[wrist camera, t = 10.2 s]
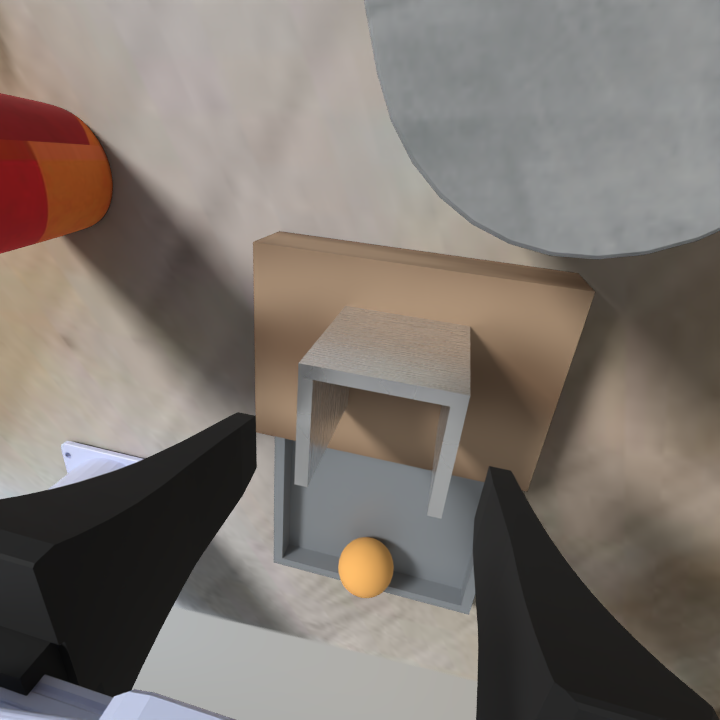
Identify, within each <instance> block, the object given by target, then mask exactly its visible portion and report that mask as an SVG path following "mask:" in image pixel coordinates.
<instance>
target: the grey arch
mask: <svg viewBox="0 0 720 720" xmlns="http://www.w3.org/2000/svg"><path fill="white" fill-rule="evenodd" d="M349 387H352V388H357V389H363V390H368V391H373V392H378V393H383V394H388V395H393V396H399V397H404V398H409V399H414V400H419V401H424V402H429V403H434V404H440V405H442V406H441V411H440V416H439V420H438V427H437V435H436V444H435V452H434V460H433V469H432V477H431V486H430V494H429V503H428V511H427V516H431V517H436V518H440V519H441V518H442V514H443V509H444V505H445V501H446V497H447V492H448V488H449V484H450V480H451V475H452V471H453V467H454V463H455V459H456V454H457V450H458V446H459V442H460V437H461V433H462V429H463V425H464V420H465V416H466V412H467V408H468V403H469V399H470V326H465V325H459V324H453V323H447V322H441V321H435V320H429V319H423V318H417V317H411V316H404V315H398V314H392V313H386V312H380V311H374V310H368V309H362V308H356V307H350V306H345V307H344V308H343V310H342V311H341V312H340V313H339V315H338V316H337V317H336V318H335V319H334V321H333V322H332V323H331V324H330V325H329V327H328V328H327V329H326V330H325V332H324V333H323V334H322V335H321V336H320V338H319V339H318V340H317V341H316V343H315V344H314V345H313V346H312V347H311V349H310V350H309V351H308V352H307V353H306V355H305V356H304V357H303V358H302V360H301V361H300V362H299V364H298V393H297V422H296V451H295V480H294V484H296V485H300V486H304V487H308V485H309V483H310V481H311V479H312V477H313V475H314V472H315V470H316V468H317V466H318V464H319V462H320V460H321V458H322V456H323V454H324V452H325V450H326V448H327V446H328V444H329V442H330V440H331V438H332V436H333V434H334V432H335V430H336V427H337V425H338V423H339V421H340V419H341V417H342V415H343V413H344V411H345V409H346V407H347V405H348V395H349Z"/></svg>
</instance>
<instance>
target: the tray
mask: <svg viewBox="0 0 720 720" xmlns="http://www.w3.org/2000/svg"><path fill="white" fill-rule="evenodd" d="M295 451H296V441H294V440H289V439H285V438H280V437H276V436H275V473H274V563H278V564H282V565H286V566H289V567H293V568H297V569H300V570H304V571H308V572H312V573H315V574H319V575H323V576H327V577H330V578H334V579H338V580H341V579H340V576H339V570H338V565H339V559H340V556H341V553H342V551H343V550H344V548H345V547H346V546H347V545H348V544H349V543H350V542H351V541H353V540H355V539H357V538H361V537H371V538H374V539H377V540H379V541H380V542H382V543H383V544H384V545H385V546H386V547H387V548H388V550H389V552H390V554H391V556H392V559H393V565H394V569H393V576H392V579H391V582H390V584H389V585H388V587H387V588H386V589H385V590H384V591H383V592H386V593H390V594H394V595H398V596H401V597H405V598H409V599H412V600H416V601H420V602H424V603H427V604H431V605H435V606H439V607H442V608H446V609H450V610H453V611H457V612H461V613H465V614H468V615H469V612H470V609H471V606H472V603H473V600H474V596H475V580H474V565H473V533H474V518H475V514H476V511H477V507H478V504H479V500H480V496H481V493H482V489H483V486H484V482H481V481H476V480H472V479H467V478H463V477H458V476H453V475H451V480H450V484H449V488H448V492H447V497H446V501H445V505H444V509H443V514H442V518H441V519H440V518H436V517H431V516H427V511H428V503H429V494H430V486H431V477H432V471H431V470H426V469H422V468H417V467H412V466H408V465H403V464H399V463H394V462H390V461H385V460H381V459H376V458H371V457H367V456H362V455H358V454H353V453H349V452H344V451H340V450H335V449H330V448H326V450H325V452H324V454H323V456H322V458H321V460H320V462H319V464H318V466H317V468H316V470H315V472H314V475H313V477H312V479H311V481H310V483H309V485H308V487H304V486H300V485H296V484H294V480H295Z"/></svg>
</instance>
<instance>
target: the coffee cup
mask: <svg viewBox="0 0 720 720" xmlns="http://www.w3.org/2000/svg"><path fill="white" fill-rule="evenodd" d="M112 191H113V183H112V174H111V169H110V165H109V162H108V159H107V157H106V154H105V152H104V150H103V148H102V146H101V144H100V142H99V141H98V139H97V138H96V136H95V135H94V134H93V132H92V131H91V130H90V129H89V128H88V126H87V125H86V124H85V123H84V122H83V121H81V120H80V119H79V118H78V117H76V116H75V115H74V114H72V113H70V112H69V111H67V110H64V109H62V108H60V107H57V106H54V105H50V104H46V103H42V102H38V101H33V100H29V99H24V98H20V97H15V96H11V95H6V94H1V93H0V253H4V252H7V251H11V250H15V249H18V248H22V247H25V246H29V245H32V244H36V243H39V242H43V241H46V240H50V239H53V238H57V237H60V236H63V235H66V234H70V233H73V232H76V231H79V230H82V229H85V228H88V227H90V226H92V225H94V224H96V223H97V222H99V221H100V220H101V219H102V218H103V217H104V215H105V214H106V212H107V210H108V208H109V206H110V203H111V199H112Z"/></svg>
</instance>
